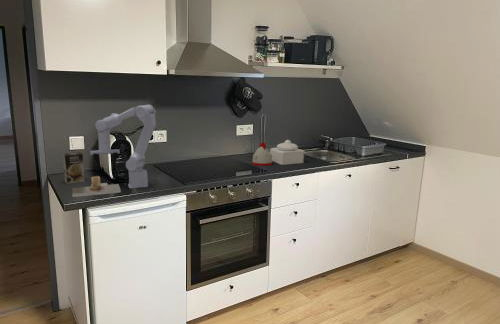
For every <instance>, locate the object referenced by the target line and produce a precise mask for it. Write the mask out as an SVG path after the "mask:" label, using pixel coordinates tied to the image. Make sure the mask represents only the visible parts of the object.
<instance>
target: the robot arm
mask: <svg viewBox="0 0 500 324" xmlns="http://www.w3.org/2000/svg"><path fill="white" fill-rule="evenodd" d="M156 112H157V111H156V110H155V107H153V105H152V104H144V105H141V104H140V105H138V106H134V107H130V108H129V109H128V110H125V111H124V112H121V113H120V114H119V113H110V116H107V117H106V116H105V117H103V119H98V120H97V121H96V122H95V124H94V126H95V129H96V130H97V136H98V137H97V138H98V149H97V150H90V151H89V152H90V156H93V160H94V161H95V162H96V167H97V169H100V163H99V155H112V167H113V168H115V166H116V161H117V158H118V156H119V154H120V149H118V148H117V149H111V135H110V134H111V129H112V128H114V127H116V126H118V125H121V124H122V121H123V120H126V119H129V118H131V117H133V116H134V117H137V118H138V120H140V121H141V122H142V124H143V127H142V130H141V132H140V135H139V138H138V141H137V143H136V146H135V147H134V151H133V153H132V154H131V155H130V156H129V159H127V160H126V161H125V168H126V169H127V170H128V184H127V186H128V188H129V189H137V188H141V189H142V188H149V183H148V182H149V180H148V171H147V169H144V166H145V164H146V163H145V162H146V161H145V158H146V155H145V153H146V151H147V148H148V146H149V144H150V141H151V138H152V136H153V134H154V131H155V128H156V125H157V121H156Z"/></svg>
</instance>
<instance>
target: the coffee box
mask: <svg viewBox="0 0 500 324" xmlns="http://www.w3.org/2000/svg"><path fill="white" fill-rule="evenodd" d="M62 161H63V173H64V175H63V176H64V182H65V183H66V185H69V184H71V185H72V184H76V183H77V184H79V183H83V182H84V183H85V182H86V181H85V168H84V166H85V165H84V154H83V153H82V152H68V153H67V152H66V153H62Z"/></svg>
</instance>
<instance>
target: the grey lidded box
mask: <svg viewBox="0 0 500 324" xmlns="http://www.w3.org/2000/svg"><path fill="white" fill-rule="evenodd" d="M269 152H270V154H272V163H277V164H278V165H281V166H284V165H285V166H286V165H294V164H295V165H297V164H304V163H305V162H304V161H305V152H306V150H303V149H299V146H298V145H297V144H296V143H292V141H291V140H290V139H286V140H285V141H284V142H281V143H279V144H277V145H276V147H271V148H270V149H269Z"/></svg>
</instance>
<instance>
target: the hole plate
mask: <svg viewBox="0 0 500 324" xmlns="http://www.w3.org/2000/svg"><path fill="white" fill-rule="evenodd" d="M119 193H122V191H121V187H120V185H119V183H116V184H115V183H114V184H108V185H101V190H92V186H91V185H90V186H81V187H72V198H78V197H80V198H81V197H88V196H90V197H91V196H99V195H107V194H108V195H110V194H119Z"/></svg>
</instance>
